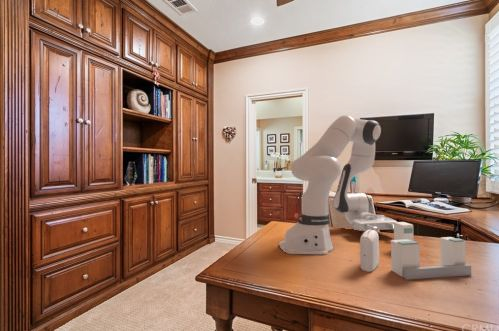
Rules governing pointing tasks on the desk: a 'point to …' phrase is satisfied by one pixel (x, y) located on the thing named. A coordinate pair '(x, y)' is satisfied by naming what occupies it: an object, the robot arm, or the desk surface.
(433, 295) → the desk surface
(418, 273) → the din mount
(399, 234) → the block
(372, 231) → the photo printer
